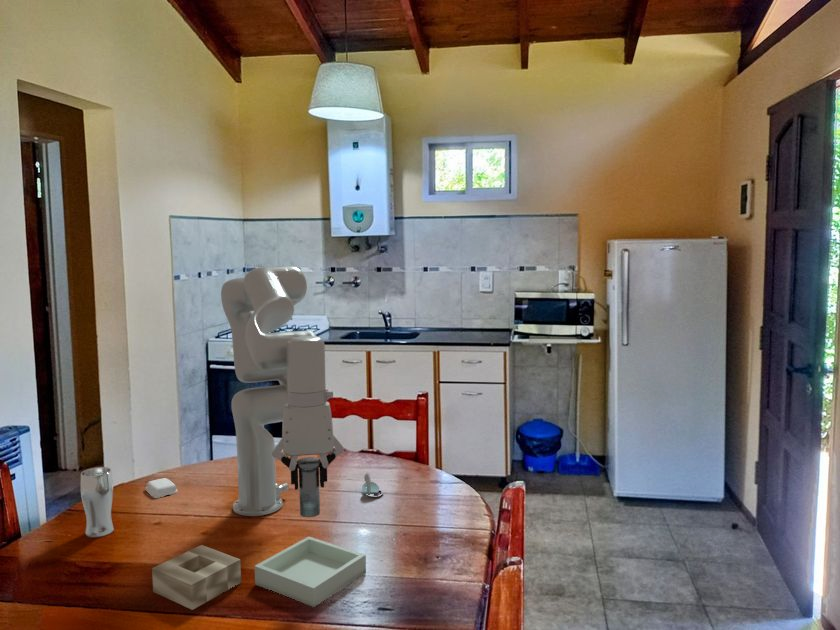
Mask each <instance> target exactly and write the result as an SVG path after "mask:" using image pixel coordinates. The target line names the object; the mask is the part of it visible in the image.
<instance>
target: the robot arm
mask: <svg viewBox="0 0 840 630" xmlns="http://www.w3.org/2000/svg"><path fill="white" fill-rule="evenodd" d="M307 289H308V284H307V279H306V276H305V274H304V273H303V271H302V270H301V269H300V268H298V267H296V266H291V265H290V266H288V265H287V266H284V265H283V266H262V267H256V268H253V269H251V270H249V271H248V272H247V273H246V275H245V276H244V277H237V278H232V279H229V280H227V281H225V282H224V283H223V284H222V286H221V291H220V299H221V300H220V301H221V306H222V309H223V312H224V314H225V316H226V319H227V321H228V324H229V327H230V331H231V339H232V341H231V342H232V354H233V364H234V365H233V367H234V372H235V375H236V379H237V380H238V381H240V382H241V383H245V384H247V383H249V384H250V383H251V384H252V383H261V382H263V383H264V382H272V381H278V383H279V385H270V386H269V385H268V386H258V387H251V388H249V387H248V388H245V389H242V390H239V391H237V392H236V393H235V394H234V395H233V397H232V399H231V412H232V416H233V422H234V429H235V436H236V439H235V440H236V452H237V453H236V456H237V458H236V460H237V461H236V462H237V483H238V484H237V486H238V487H237V488H238V499H236V500H235V501H234V502H233V504H232V510H233V512H234V513H236V514H238V515H239V516H242V517H243V516H244V517H259V516H264V515H265V516H266V515H269V514H273V513H275V512H277V511H278V510H280V509H281V508H282V507H283V499H282V498H281V497H280V495H281V494H282V493H283V492H285V491H287V490H289V489H290V485H289V484H288V482H285V483H282V484H280V485H279V484H278V483H277V481H276V473H277V472H276V460H278V461H280V462H281V463H282V464H283V465H285V467H287V468H288V469H289V470H290V484H291V485H294V490H296V491H297V490H299V469H298V468H297V460H298V458H299V457H301V456H314V455H319V459H320V460H321V466H320V467H319V487H320V488H325V483H327V482H328V468H329V466H330V464H332V463H333V461H334V460H335V459H336V458H338V456H340V455H341V454H342V453H344V451H345V448H344V446H343V445H342V444H341V442H340V441H339V440H338V438H337V437H336V436H335V435H334V425H333V416H332V409H331V404H330V402H329V401H328V400H329V399H333V398H334V391H332V390H331V391H330V390H328V389H326V387H327V386H326V353H325V352H326V345H325V342H324V340H323V338H321V337H319V336H317V334H316V333H315V332H314V331H309V330H293V331H278V332H277V331H276V330H278V329H280V328H282V327H283V326H284V325H286V324H287V323H289V321H291V319H292V318H293V316H294V312H295V307H294V306H295V305H297V304H298V303H300V302H302V300H303V299H304V298H305V297H306V295H307ZM274 331H276V332H274ZM281 422H282V424H281V425H282V426H281V427H282V429H281V439H280V440H279V442H278V443H277V445H276V444H275V439H274V437H273V435H272V434H271V433H270V432H269V431H268V429H266V428H265V425H269V424H276V423H281ZM275 445H276V446H275ZM282 452H283V453H282ZM288 456H289V457H288Z"/></svg>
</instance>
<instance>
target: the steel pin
mask: <svg viewBox="0 0 840 630" xmlns="http://www.w3.org/2000/svg"><path fill="white" fill-rule="evenodd" d="M296 464H297V468H298V490H299V515H300V516H301V517H303V518H315V517H318V516H319V515H320V513H321V504H320V502H321V501H320V497H321V496H320V495H321V494H320V468H319V467H320V466H321V459H320V457H313V456H312V457H310V456H308V457H302V458H299V459H297V463H296Z"/></svg>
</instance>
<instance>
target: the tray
mask: <svg viewBox="0 0 840 630" xmlns="http://www.w3.org/2000/svg"><path fill="white" fill-rule="evenodd" d="M366 560H367V555H366V554H365V553H362V552H358V551H355V550H352V549H349V548H347V547H346V548H345V547H344V546H340V545H336V544H334V543H331V542H327V541H326V540H325V541H324V540H321V539H318V538H315V537H312V536H307V537H305V538H303V539H301V540H300V541H298V542H296V543H294V544H292V545H290V546H288V547H287V548H285V549H283V550H281V551H279V552H277V553H276V554H274V555H271V556H270V557H268V558H266V559H264V560H263V561H260V562H258V563H257V564H255V565H254V584H255V586H258V587H261V588H262V587H263V588H262V589H265V590H267V589H268V591H270V590H272V591H274V592H273V593H275V592H277V593H279V594H278V595H280V594H282V595H285V596H287V597H290V598H292V599H295V600H297V601H300V602H302V603H305V604H308V605H310V606H312V607H311V608H313V607H315V606H316V605H318V604H320V603H321V602H322V601H324V600H325V601H327V600H328V599H330V598H331V597H332V596H331V595H333V594H334V593H336V592H337V591H339V590H340V589H342V588H343V589H345V588H346V587H348V586H349V585H350V584H352V583H353V582H355V581H356V580H358V579H359V578H361V577H362V576H363V574H364V573H365V574H366V573H367V561H366ZM365 574H364V575H365ZM360 576H361V577H360ZM358 577H359V578H358ZM357 578H358V579H357ZM355 579H356V580H355ZM354 580H355V581H354ZM352 581H353V582H352ZM351 582H352V583H351ZM348 584H349V585H348ZM345 586H346V587H345ZM344 587H345V588H344ZM343 589H342V590H343ZM272 591H271V592H272ZM340 591H341V590H340ZM340 591H339V592H340ZM277 593H276V594H277ZM337 593H338V592H337ZM337 593H336V594H337ZM282 595H281V596H282ZM334 595H335V594H334ZM334 595H333V596H334ZM285 596H284V597H285ZM330 596H331V597H330ZM287 597H286V598H287ZM329 597H330V598H329ZM290 598H289V599H290ZM327 598H328V599H327ZM292 599H291V600H292ZM326 599H327V600H326ZM295 600H294V601H295ZM297 601H296V602H297ZM325 601H324V602H325ZM300 602H299V603H300ZM302 603H301V604H302ZM322 603H323V602H322ZM322 603H321V604H322ZM305 604H304V605H305ZM321 604H320V605H321ZM308 605H307V606H308ZM310 606H309V607H310ZM318 606H319V605H318ZM315 608H316V607H315Z"/></svg>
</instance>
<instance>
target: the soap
mask: <svg viewBox="0 0 840 630" xmlns="http://www.w3.org/2000/svg"><path fill="white" fill-rule="evenodd" d="M145 491H147V492H148V493H149V494H150V495H149V494H148V493H147V492H146V493H147V494H148V495H149V496H151V497H152V498H154V499H161V498H164V496H165V497H166V496H167V495H169V496H173V495H176V494H178V493H179V490H178V489H177V485H176V484H175V483H173V482H172V481H171V480H170V479H168V478H167V477H163V478H158V479H154V480H150V481H148V482H147V483H146V487H145ZM175 493H176V494H175ZM172 494H173V495H172ZM160 497H161V498H160Z"/></svg>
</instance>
